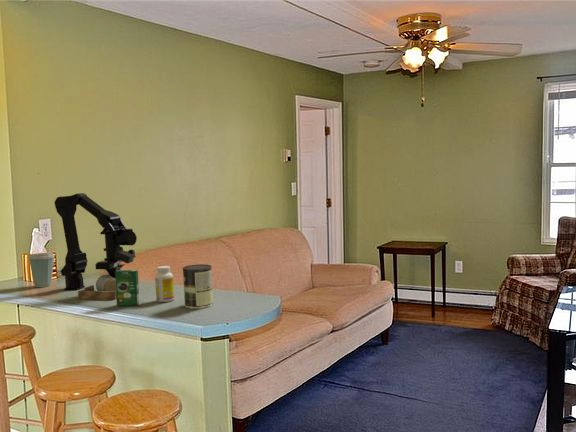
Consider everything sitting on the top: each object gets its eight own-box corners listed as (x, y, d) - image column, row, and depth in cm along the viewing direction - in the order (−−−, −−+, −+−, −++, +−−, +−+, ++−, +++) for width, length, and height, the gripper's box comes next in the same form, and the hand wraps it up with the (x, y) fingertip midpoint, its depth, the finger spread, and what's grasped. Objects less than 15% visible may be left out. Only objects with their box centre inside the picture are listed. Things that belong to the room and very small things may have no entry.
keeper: (75, 298, 228) (75, 291, 228) (91, 292, 239) (91, 285, 239) (117, 299, 224) (117, 292, 223) (132, 293, 234) (132, 285, 234)
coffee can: (181, 309, 204) (179, 269, 203) (187, 302, 215) (185, 264, 213) (211, 308, 204) (209, 268, 203) (215, 301, 214) (213, 263, 213)
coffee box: (140, 304, 215) (138, 268, 214) (138, 305, 212) (135, 270, 211) (119, 304, 216) (116, 269, 214) (116, 306, 213) (114, 271, 212)
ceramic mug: (104, 297, 228) (103, 278, 227) (95, 294, 234) (94, 275, 233) (129, 293, 235) (128, 274, 234) (120, 290, 241) (119, 272, 240)
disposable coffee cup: (30, 285, 259) (27, 252, 258) (56, 282, 264) (53, 249, 263) (30, 289, 250) (28, 255, 249) (57, 286, 254) (55, 252, 253)
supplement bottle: (177, 299, 221) (176, 265, 220) (168, 303, 215) (166, 268, 214) (162, 298, 223) (160, 265, 222) (153, 302, 217) (151, 268, 216)
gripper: (118, 248, 227) (121, 287, 228) (141, 241, 245) (144, 278, 246) (93, 248, 229) (96, 287, 231) (117, 241, 247) (120, 278, 249)
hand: (115, 282), depth 239 cm, fingers closed
